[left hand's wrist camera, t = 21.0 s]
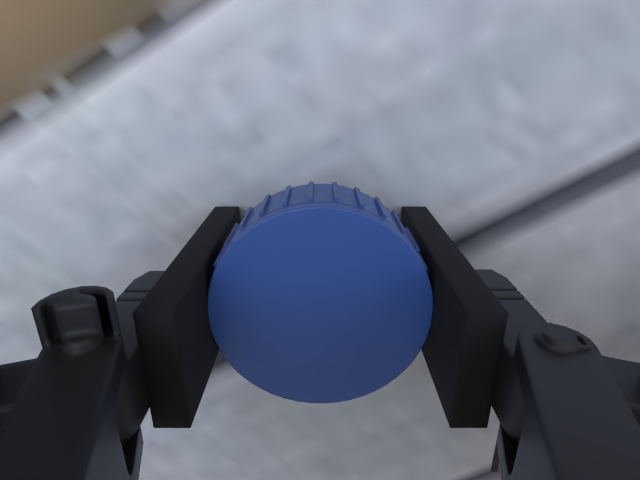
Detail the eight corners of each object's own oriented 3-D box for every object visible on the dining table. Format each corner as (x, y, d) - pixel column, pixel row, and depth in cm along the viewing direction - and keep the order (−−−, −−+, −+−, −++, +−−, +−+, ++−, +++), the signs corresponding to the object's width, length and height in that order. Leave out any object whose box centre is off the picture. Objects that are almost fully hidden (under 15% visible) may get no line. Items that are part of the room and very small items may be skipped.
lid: (190, 214, 11) (164, 243, 9) (393, 153, 11) (408, 170, 9) (261, 375, 13) (251, 426, 11) (436, 331, 13) (456, 376, 11)
